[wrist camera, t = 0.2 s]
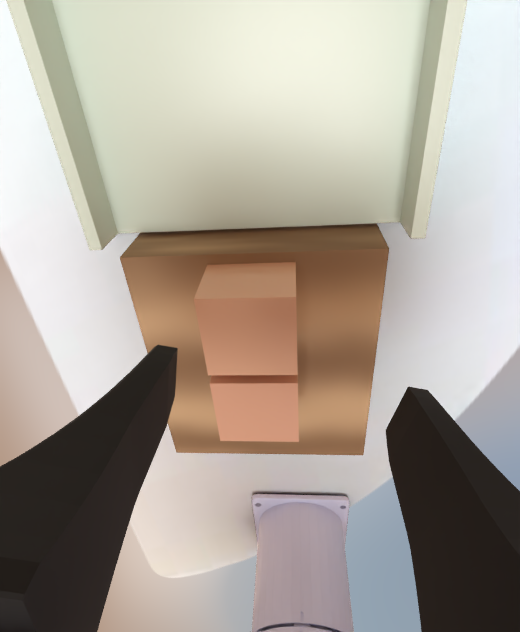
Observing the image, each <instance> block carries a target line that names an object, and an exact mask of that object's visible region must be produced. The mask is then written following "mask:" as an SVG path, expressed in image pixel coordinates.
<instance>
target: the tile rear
mask: <svg viewBox="0 0 520 632" xmlns="http://www.w3.org/2000/svg"><path fill="white" fill-rule="evenodd" d="M210 388H211V394H212V399H213V404H214V410H215V415H216V420H217V426H218V431H219V436H220V441H265V442H299V420H298V375H212V376H211V380H210Z"/></svg>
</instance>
